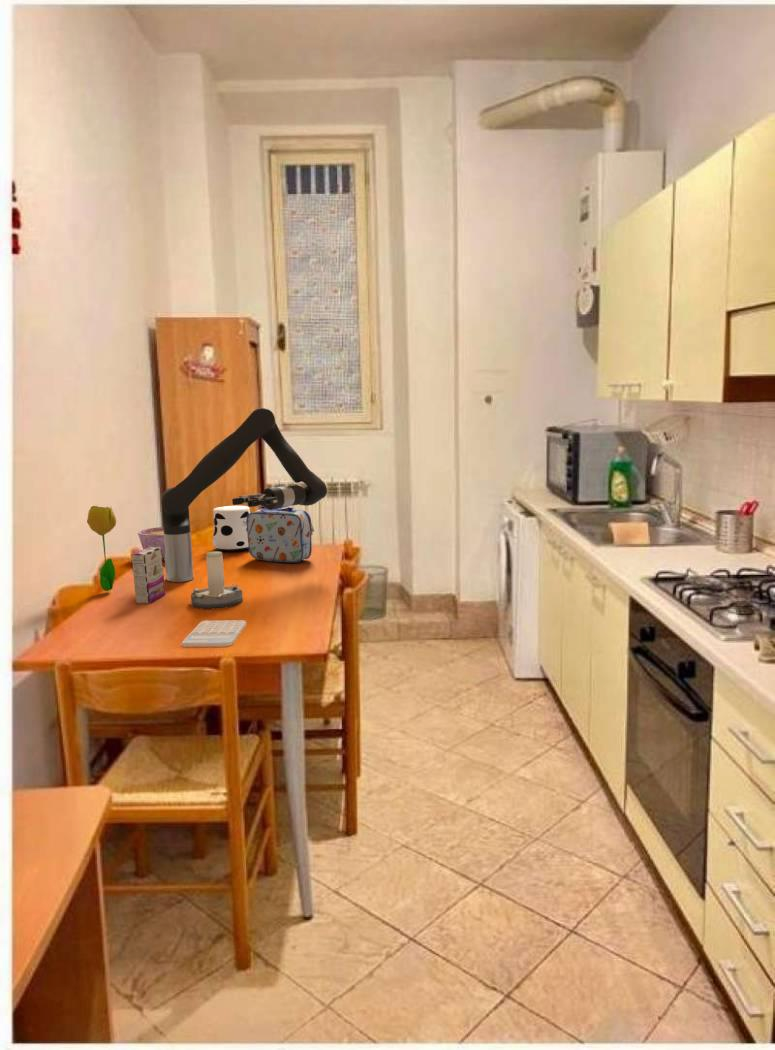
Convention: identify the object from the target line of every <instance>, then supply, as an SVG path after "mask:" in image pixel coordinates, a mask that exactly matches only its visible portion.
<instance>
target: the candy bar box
mask: <svg viewBox="0 0 775 1050" xmlns="http://www.w3.org/2000/svg"><path fill="white" fill-rule="evenodd" d="M130 556H131V564H132V573H133V574H132V575H133V583H134V593H135V594H134V595H135V603H136V604H138V603H139V605H141V603H142V604H145V605H146V604H147V605H149V604H152V603H153V602H156V601H157V600H159V599H160V597H161V598H162V597H164V596H165V595H166V587H165V578H164V576H165V575H164V566H163V560H162V553H161V547H148V548H146V549H143V548H142V549H141V550H139V551H137V552H134V553H132V554H131V555H130Z"/></svg>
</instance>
